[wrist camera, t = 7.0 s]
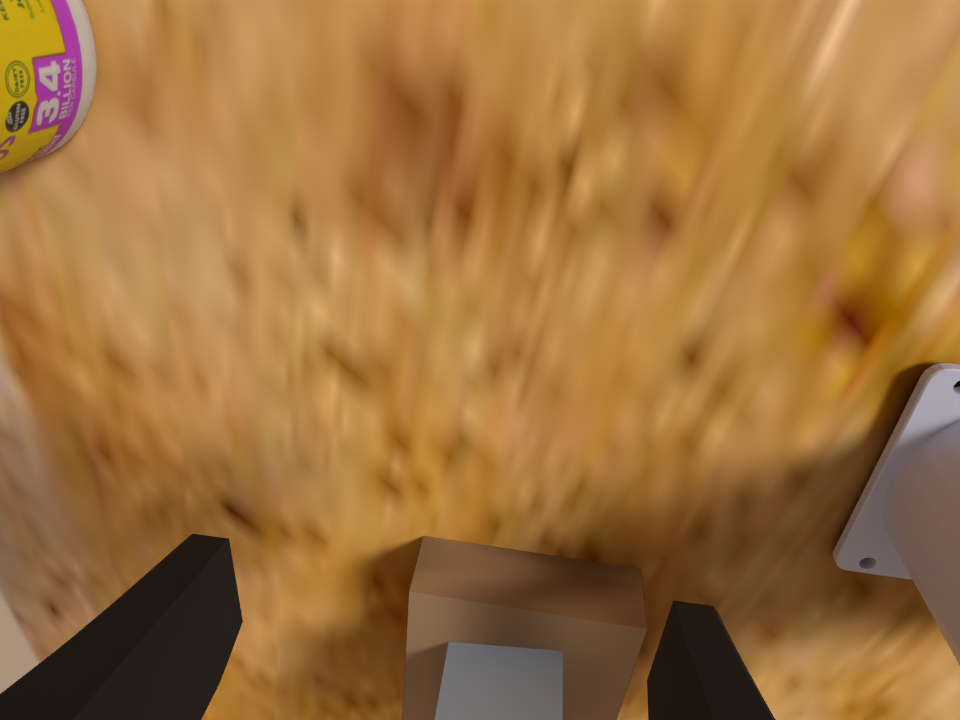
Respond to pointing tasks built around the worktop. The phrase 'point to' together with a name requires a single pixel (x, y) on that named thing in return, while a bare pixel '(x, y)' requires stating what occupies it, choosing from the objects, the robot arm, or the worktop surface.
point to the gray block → (500, 683)
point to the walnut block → (524, 620)
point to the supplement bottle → (43, 76)
